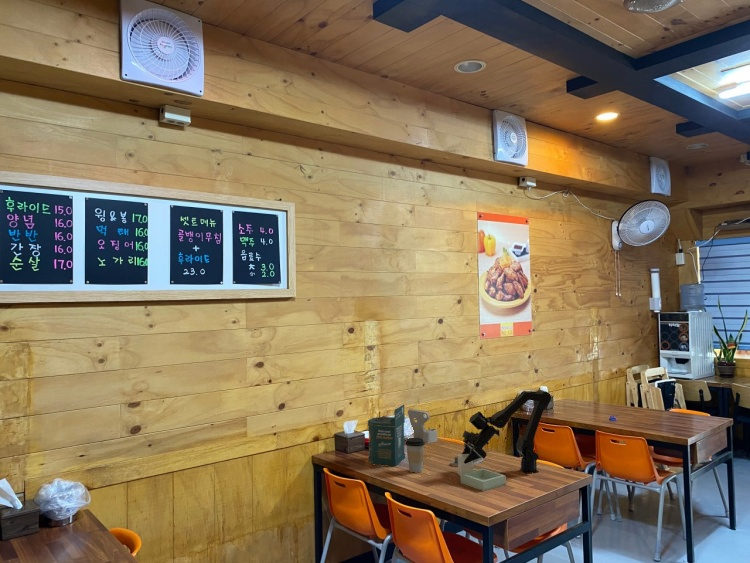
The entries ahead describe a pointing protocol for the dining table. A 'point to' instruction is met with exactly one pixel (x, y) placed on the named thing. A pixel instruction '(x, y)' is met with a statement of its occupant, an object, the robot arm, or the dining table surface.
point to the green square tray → (483, 479)
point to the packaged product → (455, 463)
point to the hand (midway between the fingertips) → (462, 461)
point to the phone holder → (422, 426)
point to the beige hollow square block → (462, 466)
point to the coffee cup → (415, 454)
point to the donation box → (387, 439)
